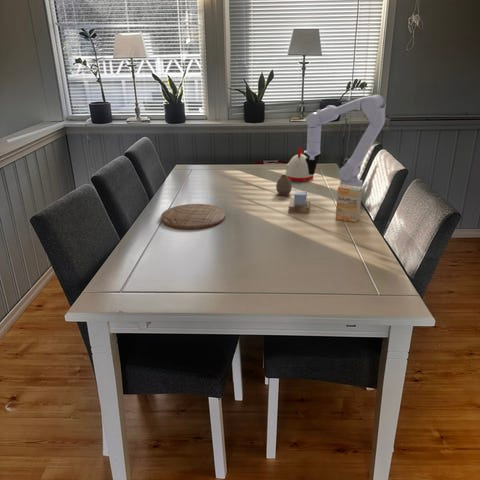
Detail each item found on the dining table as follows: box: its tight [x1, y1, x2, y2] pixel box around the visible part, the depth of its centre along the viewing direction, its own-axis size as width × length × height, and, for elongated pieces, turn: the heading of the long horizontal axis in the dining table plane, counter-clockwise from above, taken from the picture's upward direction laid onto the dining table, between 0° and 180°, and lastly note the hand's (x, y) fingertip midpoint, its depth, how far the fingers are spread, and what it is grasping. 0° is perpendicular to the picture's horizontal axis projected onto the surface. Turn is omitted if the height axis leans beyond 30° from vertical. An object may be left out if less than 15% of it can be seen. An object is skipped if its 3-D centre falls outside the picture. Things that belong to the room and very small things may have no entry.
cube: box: [293, 190, 308, 206], centre depth 182 cm, size 4×4×4 cm
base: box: [287, 199, 311, 215], centre depth 183 cm, size 8×8×3 cm
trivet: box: [160, 203, 226, 231], centre depth 176 cm, size 25×25×2 cm
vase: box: [275, 174, 293, 196], centre depth 201 cm, size 7×7×9 cm
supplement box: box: [334, 184, 363, 223], centre depth 170 cm, size 8×5×13 cm, turn 62°
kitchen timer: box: [285, 147, 314, 182], centre depth 224 cm, size 14×14×15 cm
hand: (312, 172), depth 199 cm, fingers open, 7 cm apart
